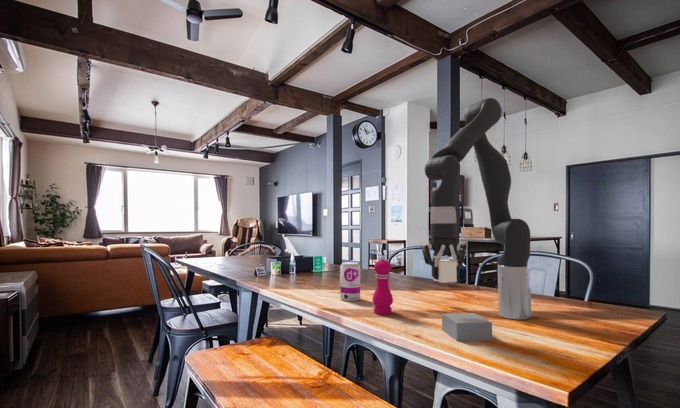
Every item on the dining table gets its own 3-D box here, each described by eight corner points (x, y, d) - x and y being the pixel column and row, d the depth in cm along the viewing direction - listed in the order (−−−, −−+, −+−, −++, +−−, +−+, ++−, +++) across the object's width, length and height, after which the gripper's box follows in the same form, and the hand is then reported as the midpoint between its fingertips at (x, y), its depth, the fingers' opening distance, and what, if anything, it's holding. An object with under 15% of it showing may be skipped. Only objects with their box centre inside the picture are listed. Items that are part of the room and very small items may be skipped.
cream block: (448, 279, 106) (447, 259, 107) (456, 281, 101) (456, 261, 102) (433, 279, 105) (432, 260, 106) (441, 282, 101) (440, 261, 101)
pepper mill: (392, 315, 118) (392, 256, 119) (371, 314, 119) (371, 256, 121) (393, 310, 125) (393, 254, 126) (373, 309, 126) (373, 254, 128)
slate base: (474, 329, 104) (474, 312, 104) (492, 341, 94) (491, 322, 94) (442, 330, 103) (442, 313, 103) (456, 342, 93) (456, 323, 93)
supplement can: (360, 301, 139) (360, 264, 140) (340, 301, 139) (340, 264, 140) (359, 297, 147) (359, 261, 148) (340, 297, 147) (340, 261, 148)
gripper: (458, 222, 109) (460, 276, 109) (416, 222, 107) (417, 277, 106) (471, 221, 102) (473, 280, 101) (426, 222, 99) (427, 282, 98)
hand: (444, 278), depth 103 cm, fingers closed on cream block, 5 cm apart
